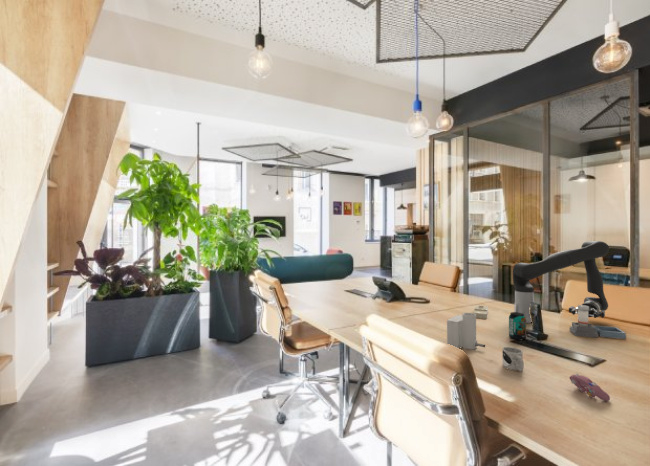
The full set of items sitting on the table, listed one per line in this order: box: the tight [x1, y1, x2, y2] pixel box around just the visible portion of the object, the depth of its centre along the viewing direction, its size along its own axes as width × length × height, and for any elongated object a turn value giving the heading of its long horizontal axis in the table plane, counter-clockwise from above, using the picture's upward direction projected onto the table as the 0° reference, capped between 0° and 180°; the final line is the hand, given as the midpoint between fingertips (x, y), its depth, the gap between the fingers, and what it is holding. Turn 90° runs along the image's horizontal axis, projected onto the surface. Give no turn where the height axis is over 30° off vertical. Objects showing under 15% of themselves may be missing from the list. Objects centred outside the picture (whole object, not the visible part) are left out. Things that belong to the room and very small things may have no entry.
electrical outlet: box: [473, 304, 489, 319], centre depth 197 cm, size 7×4×18 cm
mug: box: [502, 346, 525, 372], centre depth 121 cm, size 10×7×7 cm
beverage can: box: [508, 311, 527, 341], centre depth 154 cm, size 7×7×12 cm
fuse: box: [577, 304, 590, 327], centre depth 159 cm, size 4×4×12 cm
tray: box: [592, 325, 627, 340], centre depth 157 cm, size 10×10×3 cm
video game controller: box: [568, 373, 611, 402], centre depth 102 cm, size 10×5×7 cm, turn 5°
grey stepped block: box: [446, 312, 486, 350], centre depth 144 cm, size 12×14×15 cm
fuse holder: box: [569, 321, 599, 339], centre depth 159 cm, size 9×9×4 cm
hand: (583, 314), depth 160 cm, fingers open, 8 cm apart
